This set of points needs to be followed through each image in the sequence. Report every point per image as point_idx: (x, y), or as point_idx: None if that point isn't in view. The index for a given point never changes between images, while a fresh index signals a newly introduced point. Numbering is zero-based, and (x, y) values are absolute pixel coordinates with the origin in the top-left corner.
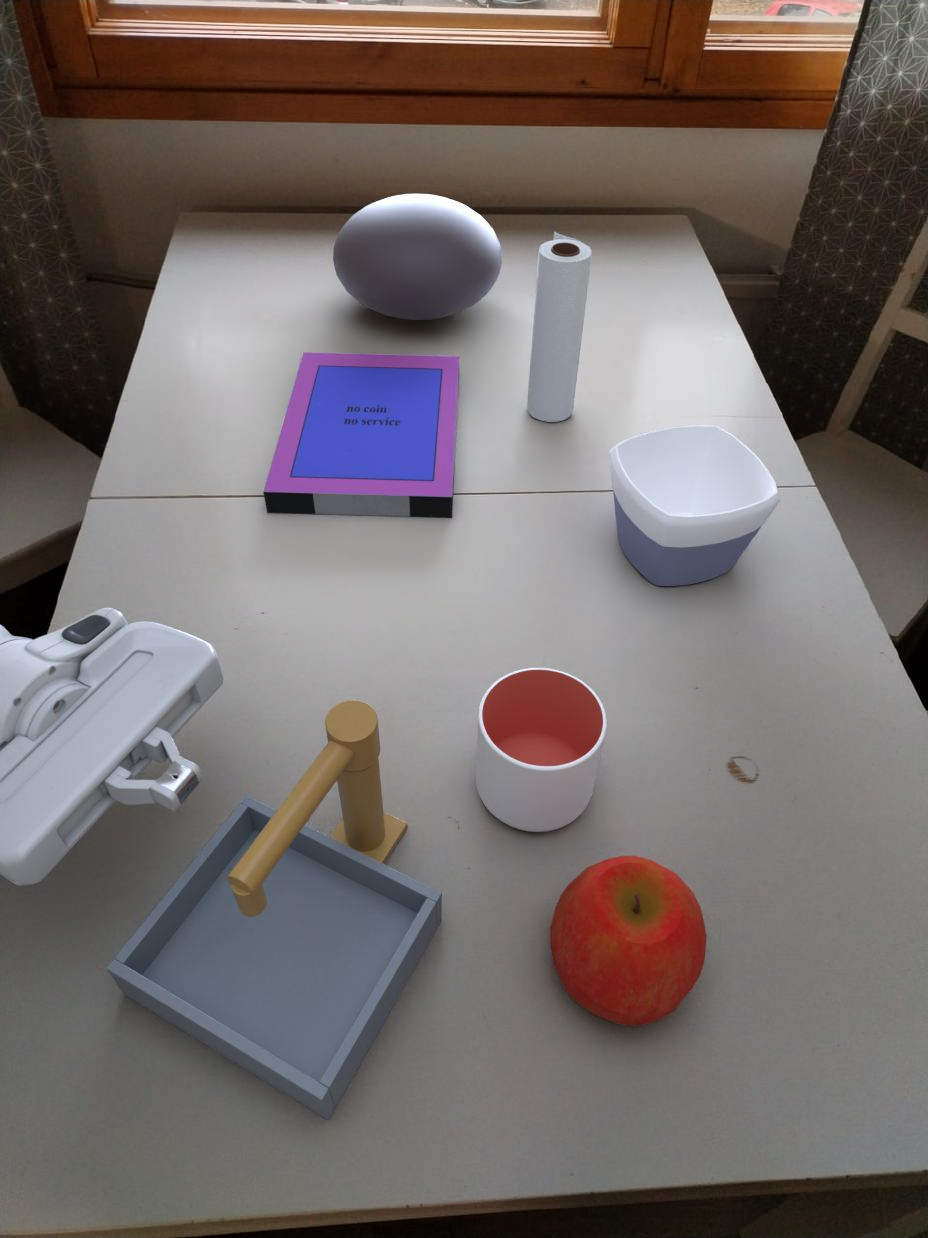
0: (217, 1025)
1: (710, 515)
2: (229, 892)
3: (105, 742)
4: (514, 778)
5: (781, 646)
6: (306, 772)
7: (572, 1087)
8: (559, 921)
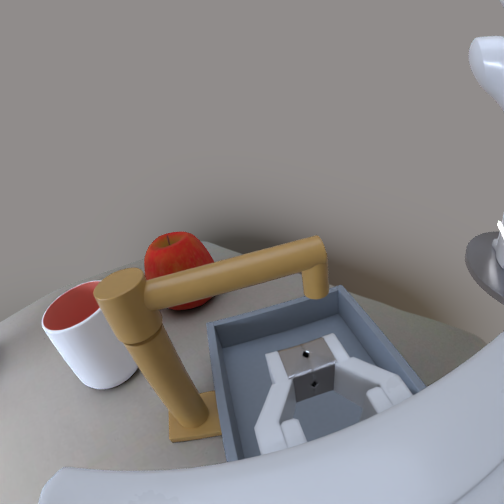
0: (375, 332)
1: None
2: None
3: (386, 457)
4: None
5: (25, 325)
6: (189, 280)
7: None
8: None
